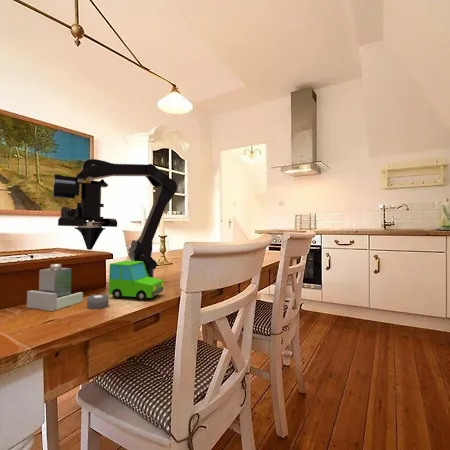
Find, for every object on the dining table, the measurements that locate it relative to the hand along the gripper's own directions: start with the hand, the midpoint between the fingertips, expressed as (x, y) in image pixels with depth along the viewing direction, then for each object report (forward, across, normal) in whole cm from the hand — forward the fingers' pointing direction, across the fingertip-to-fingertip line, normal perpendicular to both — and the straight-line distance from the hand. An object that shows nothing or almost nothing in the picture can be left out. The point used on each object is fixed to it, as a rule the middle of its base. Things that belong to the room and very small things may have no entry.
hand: (89, 249), depth 86 cm
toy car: (+13, 0, +18) cm, 22 cm away
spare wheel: (+13, +12, +14) cm, 23 cm away
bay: (+13, +14, +4) cm, 19 cm away
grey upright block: (+13, +15, +4) cm, 20 cm away
